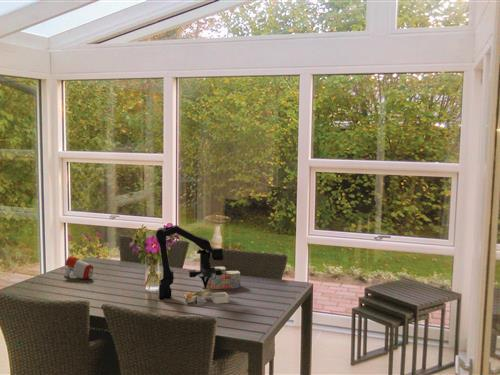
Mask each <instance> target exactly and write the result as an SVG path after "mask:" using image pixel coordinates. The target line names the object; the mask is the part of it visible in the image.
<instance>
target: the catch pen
mask: <svg viewBox="0 0 500 375" xmlns="http://www.w3.org/2000/svg"><path fill="white" fill-rule="evenodd" d="M210 299H211V301H212V302H213V304H214V305H215V304H226V303H230V296H229V294H228V293H227V292H225V291H224V292H211V296H210Z"/></svg>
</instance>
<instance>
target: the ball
mask: <svg viewBox="0 0 500 375" xmlns="http://www.w3.org/2000/svg"><path fill="white" fill-rule="evenodd" d="M192 294H193V293H192V292H191V291H188V292H187V293H186V294H185V295H186V297H187V298H191V297H192V296H193V295H192Z"/></svg>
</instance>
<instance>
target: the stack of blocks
mask: <svg viewBox="0 0 500 375" xmlns="http://www.w3.org/2000/svg"><path fill="white" fill-rule="evenodd" d="M214 267H215V268H220V269H221V271H222V275H216V274H212V277H210V279H209V280H208V283H207V286H206V287H207V288H208V289H209V290H221V289H222V290H223V289H241V272H240V271H239V270H227V268H226V267H225V266H214Z"/></svg>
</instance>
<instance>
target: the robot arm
mask: <svg viewBox="0 0 500 375" xmlns="http://www.w3.org/2000/svg"><path fill="white" fill-rule="evenodd" d="M176 234H177V235H178V236H180V237H183V238H184V239H186V240H189V241H191V242H192V243H194V244H195V245H196V246H198V247H199V248H198V249H197V251H196V254H199V270H198V271H196V270H195V269H190V270H188V272H187V275H188V277H189V278H196V277H197V276H198V278H199V279H201V281H202V282H201V283H202V284H203V287H206V286H207V283H208V280H209V279H210V277H212V274H216V275H222V271H221V269H220V268H215V267H216V266H211V259H212V261H224V252H223V248H222V247H221V248H213V246H212V245H211V243H210V240H209V239H208V238H207V237H203V236H199V235H196V234H194V233H192V232H190V231H188V230H186V229H184V228H183V227H180V226H179V225H177V224H174V225H172V226H168V227H159V228H157V229H156V232H155V238H156V240H157V242H158V245H159V248H160V249H159V250H160V255H161V256H160V257H161V263H162V268H163V269H162V270H163V272H162V278H161V279H160V280H159V286H158V295H157V296H158V299H159V300H166V299H172V288H171V285H172V284H173V283H174V280H175V274H174V269H171V267H170V260H169V254H168V248H167V237H170V236H172V235H176Z"/></svg>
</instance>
